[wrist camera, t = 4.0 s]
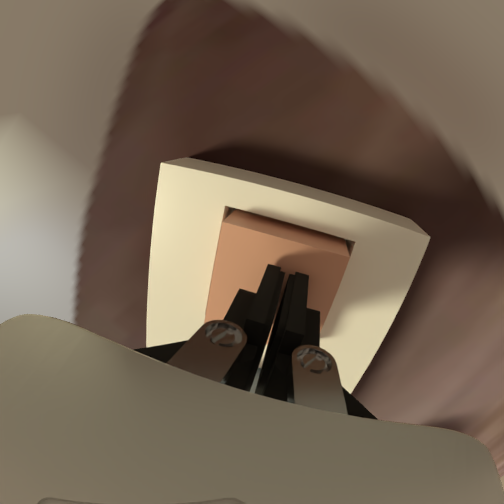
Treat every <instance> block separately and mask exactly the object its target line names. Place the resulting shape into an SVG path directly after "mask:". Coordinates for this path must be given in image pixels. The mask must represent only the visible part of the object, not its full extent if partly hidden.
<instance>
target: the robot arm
mask: <svg viewBox="0 0 504 504" xmlns="http://www.w3.org/2000/svg"><path fill="white" fill-rule="evenodd" d="M280 270H281V267H278V266H275V265H271V264H268V265H267V267H266V270H265V273H264V275H263V278H262V280H261V283H260V285H259V288H258V290H257V293H254V292H250V291H247V290H244V289H239V290H238V292H237V294H236V296H235V298H234V300H233V302H232V304H231V306H230V308H229V309H228V311H227V313H226V315H225V317H224V319H223V320H212V321H208V322H206V323H205V324H203V325H202V326H201V327H200V328H199V329H198V330H197V331H196V333H195V334H194V335H193V336H192V337H191V338H190V339H189V340H186V341H181V342H175V343H170V344H164V345H158V346H153V347H147V348H140V349H134V350H132V349H129V348H127V347H125V346H123V345H120V344H118V343H116V342H114V341H112V340H109V339H107V338H105V337H102V336H100V335H98V334H96V333H93V332H91V331H89V330H87V329H85V328H83V327H80V326H77V325H75V324H72V323H70V322H67V321H63V320H60V319H57V318H53V317H48V316H43V315H34V314H24V315H19V316H16V317H13V318H11V319H9V320H7V321H5V322H3V323H2V324H0V504H504V492H503V487H502V483H501V480H500V477H499V473H498V470H497V468H496V465H495V462H494V460H493V458H492V456H491V453H490V452H489V450H488V448H487V447H486V446H485V445H484V444H483V443H481V442H480V441H479V440H477V439H475V438H473V437H471V436H469V435H466V434H464V433H461V432H458V431H454V430H451V429H445V428H440V427H433V426H424V425H415V424H408V423H399V422H390V421H383V420H378V419H377V418H376V417H375V416H374V415H372V414H371V413H370V412H369V411H368V410H367V409H366V408H365V407H364V406H363V405H362V404H361V403H359V402H358V401H357V400H356V399H355V398H354V397H353V396H352V395H351V394H350V393H349V392H348V391H347V390H346V389H345V388H343V387H342V385H341V381H340V376H339V372H338V367H337V363H336V361H335V359H334V357H333V356H332V355H331V354H330V353H329V352H327V351H326V350H324V349H322V348H320V311H317V310H313V309H310V308H307V297H308V284H309V275H306V274H303V273H299V272H295V275H293V274H289V277H288V280H287V283H286V287H285V290H284V293H283V296H282V299H281V302H280V306H279V309H278V312H277V315H276V318H275V321H274V324H273V320H274V317H275V313H276V309H277V305H278V301H279V297H280V293H281V289H282V285H283V280H284V276H285V272H282V271H280ZM272 324H273V327H272ZM271 328H272V330H271ZM270 331H271V334H270ZM269 334H270V337H269ZM268 337H269V341H268V345H267V349H266V353H265V356H264V360H263V364H262V367H261V371H260V375H259V378H258V382H257V386H256V389H255V394H254V393H251V392H250V390H251V387H252V384H253V381H254V378H255V375H256V373H257V370H258V367H259V364H260V361H261V358H262V355H263V352H264V349H265V346H266V343H267V340H268ZM247 391H248V392H247Z"/></svg>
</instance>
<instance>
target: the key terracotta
mask: <svg viewBox="0 0 504 504" xmlns="http://www.w3.org/2000/svg"><path fill="white" fill-rule="evenodd" d="M349 259H350V256H349V252H348V249H347V246H346V242H345V239H344V238H341V237H338V236H334V235H331V234H327V233H324V232H320V231H317V230H314V229H310V228H307V227H303V226H299V225H296V224H292V223H289V222H285V221H281V220H278V219H274V218H270V217H267V216H263V215H259V214H256V213H252V212H248V211H244V210H240V209H237V208H236V209H235V210H234V211H233V212H232V213H231V214H230V215H229V216H228V217H227V218H226V219H225V220H224V221H223V222H222V227H221V232H220V237H219V242H218V247H217V253H216V258H215V264H214V269H213V275H212V280H211V286H210V291H209V297H208V303H207V309H206V315H205V321H204V324H205V323H206V322H208V321H212V320H223V319H224V317H225V315H226V313H227V311H228V309H229V308H230V306H231V304H232V302H233V300H234V298H235V296H236V294H237V292H238V290H239V289H244V290H247V291H250V292H254V293H257V290H258V288H259V285H260V283H261V280H262V278H263V275H264V273H265V270H266V267H267V265H268V264H271V265H275V266H278V267H281V270H280V271H282V272H285V276H284V280H283V285H282V289H281V293H280V297H279V301H278V305H277V309H276V313H275V317H274V320H273V324H274V321H275V318H276V315H277V312H278V309H279V306H280V302H281V299H282V296H283V293H284V290H285V287H286V283H287V280H288V277H289V274H293V275H295V272H299V273H303V274H306V275H309V284H308V297H307V308H310V309H313V310H317V311H320V332H321V330H322V327H323V325H324V322H325V320H326V318H327V315H328V313H329V311H330V308H331V306H332V303H333V301H334V298H335V296H336V293H337V291H338V288H339V286H340V283H341V280H342V278H343V275H344V272H345V270H346V267H347V264H348V262H349ZM273 324H272V327H273ZM271 330H272V328H271ZM270 334H271V331H270ZM270 334H269V337H270ZM269 337H268V340H267V343H266V345H268V341H269Z"/></svg>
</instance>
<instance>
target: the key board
mask: <svg viewBox="0 0 504 504" xmlns="http://www.w3.org/2000/svg"><path fill="white" fill-rule="evenodd" d="M236 208H237V209H240V210H244V211H248V212H252V213H256V214H259V215H263V216H267V217H270V218H274V219H278V220H281V221H285V222H289V223H292V224H296V225H299V226H303V227H307V228H310V229H314V230H317V231H320V232H324V233H327V234H331V235H334V236H338V237H341V238H344V239H345V242H346V246H347V249H348V252H349V256H350V259H349V262H348V264H347V267H346V270H345V272H344V275H343V278H342V280H341V283H340V286H339V288H338V291H337V293H336V296H335V298H334V301H333V303H332V306H331V308H330V311H329V313H328V315H327V318H326V320H325V322H324V325H323V327H322V330H321V332H320V348H322V349H324V350H326V351H327V352H329V353H330V354H331V355H332V356H333V357H334V359H335V361H336V363H337V367H338V372H339V376H340V381H341V385H342V387H343V388H345V389H346V390H347V391H348V392H349V393H350V394H351V393H352V391H353V390H354V388H355V386H356V385H357V383H358V382H359V380H360V379H361V377H362V375H363V374H364V372H365V370H366V369H367V367H368V365H369V364H370V362H371V360H372V359H373V357H374V355H375V353H376V352H377V350H378V348H379V346H380V345H381V343H382V341H383V339H384V337H385V336H386V334H387V332H388V330H389V328H390V326H391V324H392V322H393V320H394V318H395V316H396V315H397V313H398V311H399V309H400V306H401V304H402V302H403V300H404V298H405V296H406V294H407V292H408V290H409V288H410V285H411V283H412V281H413V279H414V276H415V274H416V272H417V270H418V267H419V265H420V263H421V260H422V258H423V255H424V253H425V250H426V248H427V245H428V243H429V240H430V238H431V237H430V236H429V235H428V234H427V233H426V232H424V231H423V230H422V229H421V228H420V227H419V226H418V225H417V224H416V223H415V222H413V221H412V220H411V219H409V218H406V217H404V216H401V215H398V214H395V213H392V212H389V211H386V210H383V209H380V208H377V207H374V206H371V205H368V204H365V203H362V202H359V201H356V200H353V199H349V198H346V197H343V196H340V195H336V194H333V193H330V192H326V191H323V190H319V189H316V188H312V187H309V186H305V185H302V184H298V183H294V182H291V181H287V180H283V179H279V178H275V177H272V176H268V175H264V174H260V173H256V172H251V171H247V170H243V169H239V168H234V167H230V166H226V165H221V164H217V163H212V162H207V161H203V160H198V159H193V158H188V157H187V158H181V159H176V160H171V161H166V162H161V166H160V172H159V179H158V187H157V194H156V202H155V211H154V220H153V230H152V240H151V252H150V265H149V280H148V301H147V340H146V348H147V347H153V346H158V345H164V344H170V343H175V342H181V341H186V340H189V339H190V338H191V337H192V336H193V335H194V334H195V333H196V331H197V330H198V329H199V328H200V327H201V326H202V325H203V324H204V321H205V315H206V309H207V303H208V297H209V291H210V286H211V280H212V275H213V269H214V264H215V258H216V253H217V247H218V242H219V237H220V232H221V227H222V222H223V221H224V220H225V219H226V218H227V217H228V216H229V215H230V214H231V213H232V212H233V211H234V210H235V209H236ZM266 349H267V345H266V346H265V349H264V352H263V355H262V358H261V361H260V364H259V367H258V368H261V367H262V364H263V360H264V356H265V353H266Z"/></svg>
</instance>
